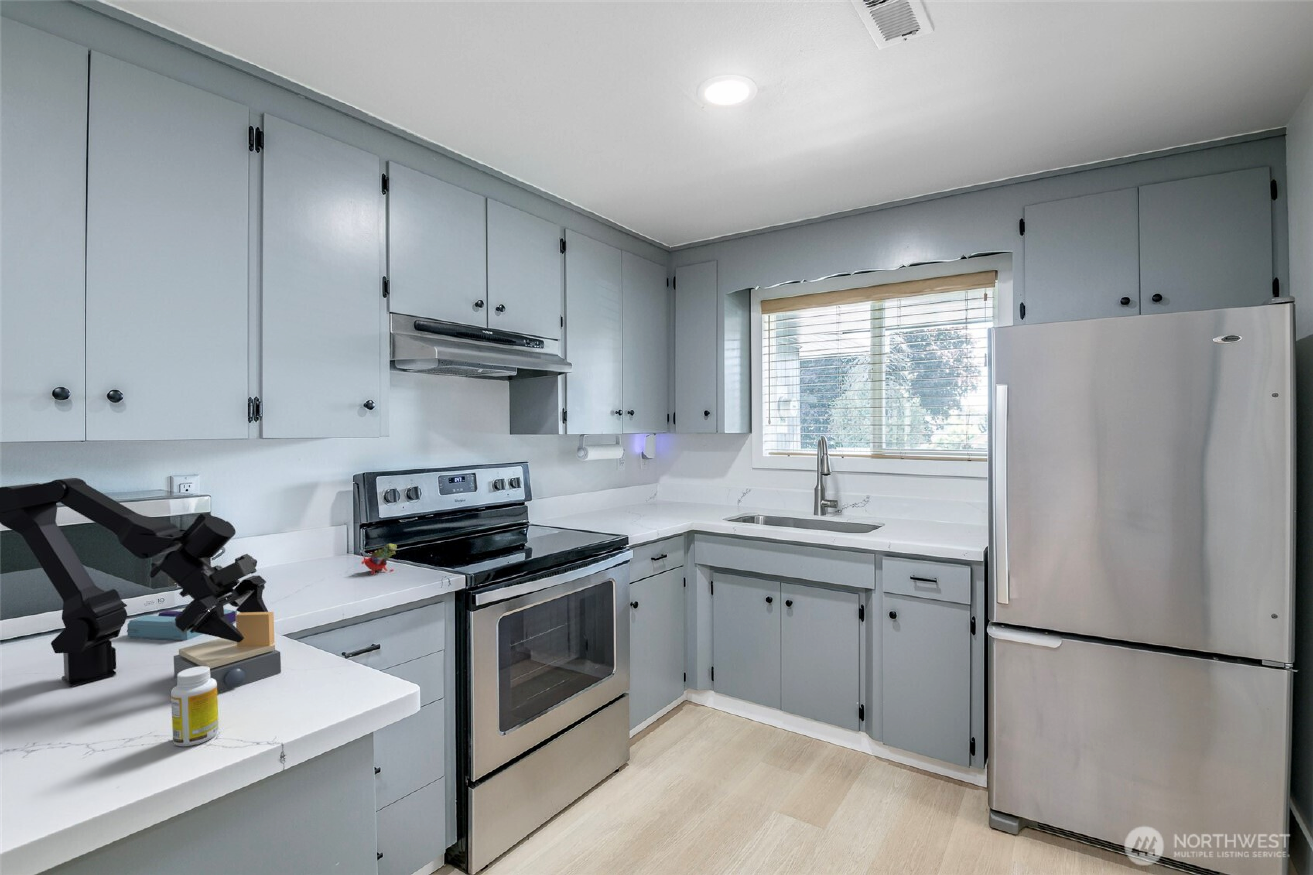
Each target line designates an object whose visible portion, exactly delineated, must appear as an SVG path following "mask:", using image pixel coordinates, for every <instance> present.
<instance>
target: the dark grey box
mask: <svg viewBox="0 0 1313 875" xmlns="http://www.w3.org/2000/svg"><path fill="white" fill-rule="evenodd" d="M193 667H200V665H198V664H196V663H194V662H192V661H190V660H188V659H186V658H184V657H183V656H181V655H179V654H176V655H173V676H174V678H175V679H177V674H178V673H179V672H181V671H183V670H186V669H189V668H193ZM278 673H279V674H282V661H281V651H280V650H277V649H275V650H273V651H270V652H266V653H263V654H259V655H256V656H253V657H249V658H246V659H242V660H239V661H235V662H232V663H228V664H225V665H222V666H218V667H215V668H211V669H210V678H213V679H215V680H216V682H217V694H219V693H222V692H226V691H229V690H231V689H234V688H237V687H238V688H239V687H240V686H243V685H247V684H251V683H253V682H257V681H261V680H263V679H266V678H268V677H272V676H275V675H274V674H276V675H279V674H278Z"/></svg>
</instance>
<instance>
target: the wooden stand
mask: <svg viewBox="0 0 1313 875" xmlns="http://www.w3.org/2000/svg"><path fill="white" fill-rule="evenodd" d="M274 614H275V613H274V611H268V612H245V613H240V612H239V613H237V615H236V622H235V625H236V626H235V627H236V628H237V629H238V630H239V632H240V633H241V634H242V635H243V637H244V639H243V640H242V641H241V642H235V641H231V640H227V639H223V638H218V639H213V640H209V641H206V642H201V643H197V644H194V645H190V646H186V647H182V648H178V655H181V656H183V657H184V658H186V659H188V660H190V661H192V662H194V663H196V664H198V665H200V666H206V667H209V668H210V669H211V668H215V667H218V666H222V665H225V664H228V663H232V662H235V661H239V660H242V659H246V658H249V657H253V656H256V655H259V654H263V653H266V652H270V651H273V650H276V644H275V643H276V642H275V617H274V616H275V615H274Z"/></svg>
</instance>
